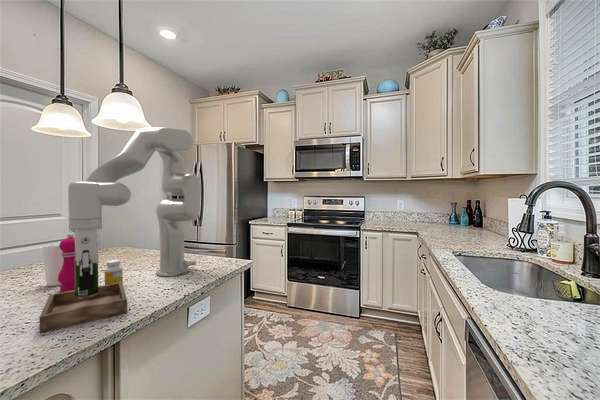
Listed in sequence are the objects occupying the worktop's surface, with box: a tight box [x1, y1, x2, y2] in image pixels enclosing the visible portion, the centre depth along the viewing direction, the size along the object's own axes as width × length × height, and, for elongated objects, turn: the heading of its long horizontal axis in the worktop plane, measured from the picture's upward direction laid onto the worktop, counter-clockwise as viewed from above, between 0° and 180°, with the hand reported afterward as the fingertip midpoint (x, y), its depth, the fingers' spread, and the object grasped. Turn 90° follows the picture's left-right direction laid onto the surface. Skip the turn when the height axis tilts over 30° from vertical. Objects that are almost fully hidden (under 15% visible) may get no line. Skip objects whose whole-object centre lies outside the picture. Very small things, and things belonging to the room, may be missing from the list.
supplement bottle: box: [104, 259, 124, 285], centre depth 96 cm, size 5×5×10 cm
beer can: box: [74, 256, 100, 299], centre depth 78 cm, size 5×5×12 cm
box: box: [39, 282, 128, 334], centre depth 78 cm, size 18×18×4 cm
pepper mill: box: [58, 232, 76, 293], centre depth 95 cm, size 7×7×20 cm
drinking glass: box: [42, 242, 64, 287], centre depth 100 cm, size 7×7×15 cm
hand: (87, 285), depth 78 cm, fingers closed on beer can, 5 cm apart
